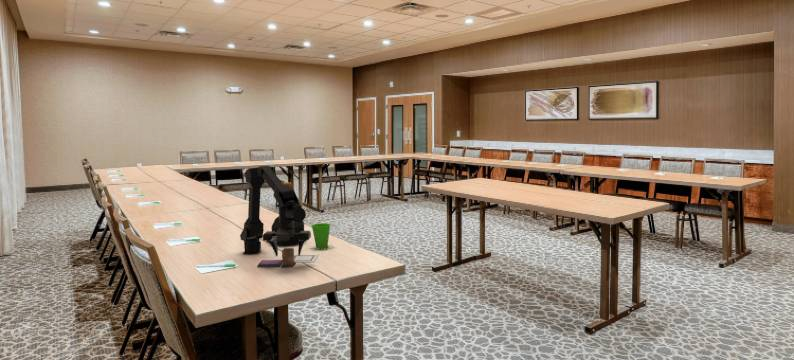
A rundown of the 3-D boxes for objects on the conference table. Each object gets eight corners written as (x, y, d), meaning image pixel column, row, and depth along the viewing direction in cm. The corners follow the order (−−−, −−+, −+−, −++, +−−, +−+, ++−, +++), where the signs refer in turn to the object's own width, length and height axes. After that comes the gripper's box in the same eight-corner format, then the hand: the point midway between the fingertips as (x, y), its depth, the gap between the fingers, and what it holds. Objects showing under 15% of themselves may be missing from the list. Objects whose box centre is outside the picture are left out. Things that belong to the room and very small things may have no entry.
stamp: (281, 267, 199) (280, 251, 198) (284, 264, 204) (283, 247, 203) (293, 267, 199) (292, 250, 198) (296, 264, 204) (295, 247, 203)
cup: (327, 250, 224) (326, 227, 222) (309, 250, 225) (308, 226, 224) (334, 245, 232) (333, 223, 231) (316, 245, 234) (315, 222, 233)
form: (286, 262, 206) (286, 261, 206) (292, 255, 217) (292, 254, 217) (314, 262, 205) (314, 261, 205) (319, 255, 216) (319, 254, 216)
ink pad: (257, 267, 200) (257, 264, 200) (262, 262, 207) (262, 259, 207) (279, 266, 200) (279, 264, 200) (283, 262, 207) (283, 259, 207)
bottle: (310, 244, 236) (307, 183, 233) (276, 249, 228) (273, 185, 225) (299, 237, 250) (297, 179, 246) (267, 242, 242) (264, 182, 238)
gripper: (257, 223, 191) (259, 261, 193) (305, 222, 191) (306, 261, 193) (265, 217, 202) (267, 254, 204) (310, 217, 202) (312, 253, 204)
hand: (288, 256), depth 201 cm, fingers open, 9 cm apart
